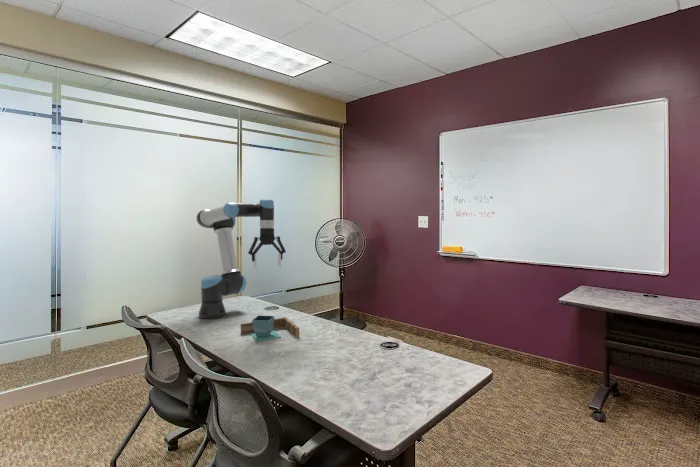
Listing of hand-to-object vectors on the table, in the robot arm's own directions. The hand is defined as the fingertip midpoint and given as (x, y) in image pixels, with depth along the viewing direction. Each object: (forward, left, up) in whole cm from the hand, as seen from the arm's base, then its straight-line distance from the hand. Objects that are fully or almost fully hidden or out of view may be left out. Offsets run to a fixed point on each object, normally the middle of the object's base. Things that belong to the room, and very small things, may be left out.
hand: (267, 266), depth 201 cm
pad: (+20, -7, -32) cm, 38 cm away
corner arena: (+20, -5, -32) cm, 38 cm away
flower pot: (+20, -8, -31) cm, 38 cm away
